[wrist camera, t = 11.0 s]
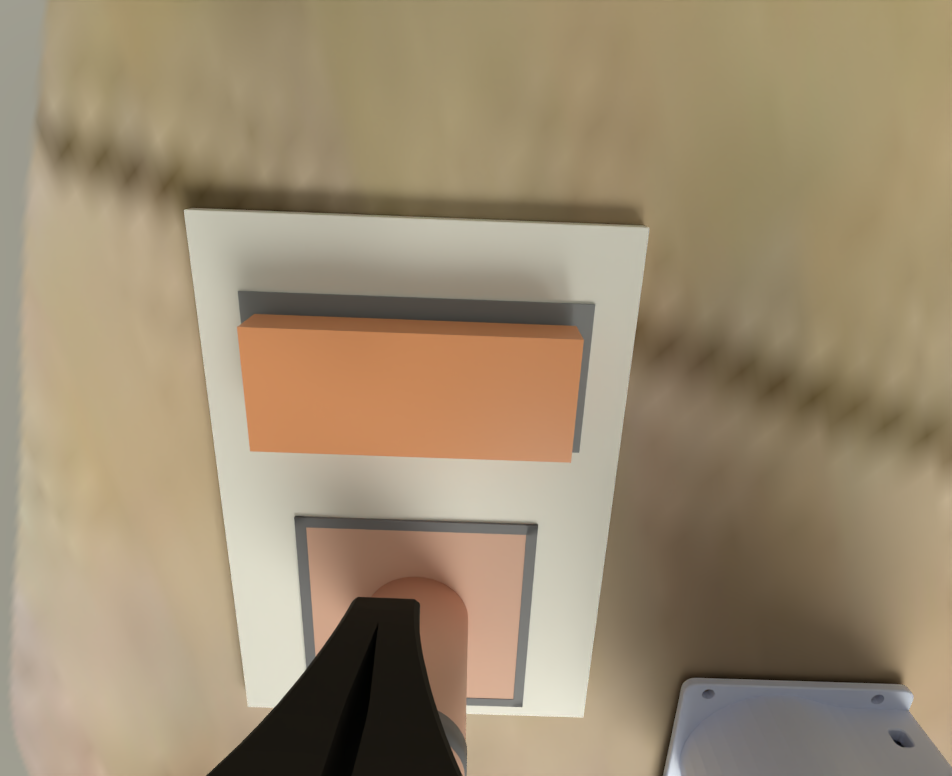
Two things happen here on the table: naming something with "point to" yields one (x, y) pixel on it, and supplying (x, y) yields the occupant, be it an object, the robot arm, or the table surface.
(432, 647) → the cylinder
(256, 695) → the picture board
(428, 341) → the button
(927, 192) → the table surface
